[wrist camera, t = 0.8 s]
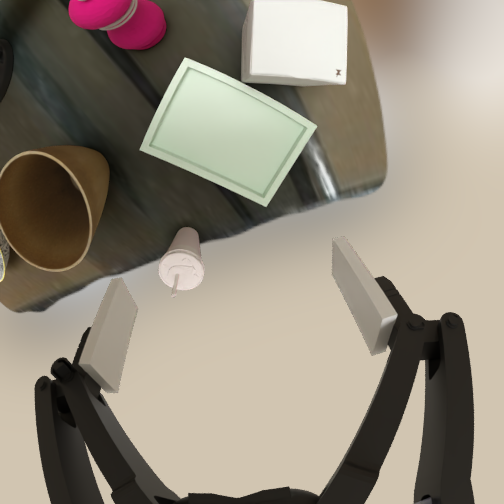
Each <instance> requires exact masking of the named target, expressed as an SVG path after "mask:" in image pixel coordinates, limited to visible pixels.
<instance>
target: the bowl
mask: <svg viewBox="0 0 504 504" xmlns="http://www.w3.org/2000/svg"><path fill="white" fill-rule="evenodd" d="M8 259H9V243H8V242H7V240H6V238H5V236H4V235H3V233H2V231H1V228H0V282H1V281H2V280H3V278H4V275H5V270H6V266H7V263H8Z"/></svg>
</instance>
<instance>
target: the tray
mask: <svg viewBox="0 0 504 504" xmlns="http://www.w3.org/2000/svg"><path fill="white" fill-rule="evenodd" d="M316 127H317V126H316V125H315V124H313V123H312V122H310V121H309V120H307V119H306V118H304V117H302V116H301V115H299V114H297V113H296V112H294V111H293V110H291V109H289V108H288V107H286V106H284V105H282V104H281V103H279V102H277V101H275V100H274V99H272V98H270V97H268V96H266V95H265V94H263V93H261V92H259V91H257V90H255V89H253V88H251V87H249V86H247V85H245V84H244V83H242V82H239V81H237V80H235V79H233V78H231V77H229V76H227V75H225V74H223V73H221V72H218V71H216V70H214V69H212V68H209V67H207V66H205V65H202V64H200V63H198V62H195V61H193V60H190V59H188V58H184V60H183V62H182V63H181V65H180V67H179V69H178V70H177V72H176V74H175V76H174V78H173V80H172V81H171V83H170V85H169V87H168V89H167V91H166V93H165V95H164V97H163V99H162V101H161V103H160V105H159V107H158V109H157V111H156V113H155V116H154V118H153V120H152V122H151V124H150V126H149V129H148V131H147V133H146V136H145V138H144V140H143V143H142V145H141V148H140V150H141V151H143V152H146V153H148V154H150V155H153V156H155V157H158V158H160V159H162V160H165V161H167V162H169V163H172V164H174V165H176V166H179V167H181V168H183V169H185V170H188V171H190V172H192V173H194V174H197V175H199V176H201V177H203V178H206V179H208V180H210V181H212V182H214V183H217V184H219V185H221V186H223V187H225V188H227V189H230V190H232V191H234V192H236V193H238V194H240V195H242V196H244V197H246V198H249V199H251V200H253V201H255V202H257V203H259V204H261V205H263V206H265V207H267V205H268V203H269V202H270V200H271V199H272V197H273V195H274V194H275V192H276V191H277V189H278V187H279V186H280V184H281V183H282V181H283V180H284V178H285V176H286V175H287V173H288V172H289V170H290V168H291V167H292V165H293V164H294V162H295V160H296V159H297V157H298V156H299V154H300V153H301V151H302V149H303V148H304V146H305V145H306V143H307V142H308V140H309V138H310V137H311V135H312V134H313V132H314V131H315V129H316Z"/></svg>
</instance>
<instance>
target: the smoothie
mask: <svg viewBox="0 0 504 504" xmlns="http://www.w3.org/2000/svg"><path fill="white" fill-rule="evenodd" d="M158 271H159V276H160V278H161V279H162V281H163V282H164V283H165V284H166V285H168V286H169V287H171V288H173V289H172V295H171V296H172V297H175V296H176V291H177V290H189V289H193V288H195V287H196V286H198V285H199V284H200V283H201V281H202V280H203V277H204V272H205V268H204V264H203V262H202V260H201V252H200V244H199V235H198V233H197V231H196V230H195V229H193V228H191V227H184V228H181V229H180V230H179V231H178V232H177V234H176V236H175V238H174V240H173V242H172V243H171V245H170V247H169V249H168V251H167V253H166V254H164V255H163V257H162V258H161V260H160V263H159V268H158Z"/></svg>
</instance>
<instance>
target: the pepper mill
mask: <svg viewBox="0 0 504 504" xmlns="http://www.w3.org/2000/svg"><path fill="white" fill-rule="evenodd" d="M69 16H70V18H71V20H72V21H73V22H74V23H75V24H76V25H77V26H79V27H81V28H84V29H100V30H107V33H108V36H109V38H110V40H111V41H112V42H113V43H114V44H115V45H117V46H118V47H120V48H123V49H136V50H144V49H148V48H151V47H152V46H154V45H156V44H157V43H158V42H159V41H160V40H161V39H162V38H163V36H164V34H165V32H166V22H165V19H164V14H163V11H162V10H161V8H160V7H159V6H157V5H156V4H155V3H153V2H151V1H148V0H70V4H69Z"/></svg>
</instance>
